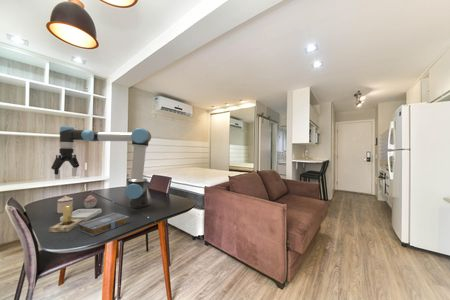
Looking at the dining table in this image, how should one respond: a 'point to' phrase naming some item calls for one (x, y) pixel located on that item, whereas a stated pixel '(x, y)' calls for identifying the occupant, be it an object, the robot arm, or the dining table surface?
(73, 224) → the block
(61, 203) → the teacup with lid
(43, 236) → the dining table surface
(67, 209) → the lock pin
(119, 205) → the dining table surface
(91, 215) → the tray
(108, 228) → the book
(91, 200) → the cupcake
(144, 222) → the dining table surface
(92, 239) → the dining table surface
